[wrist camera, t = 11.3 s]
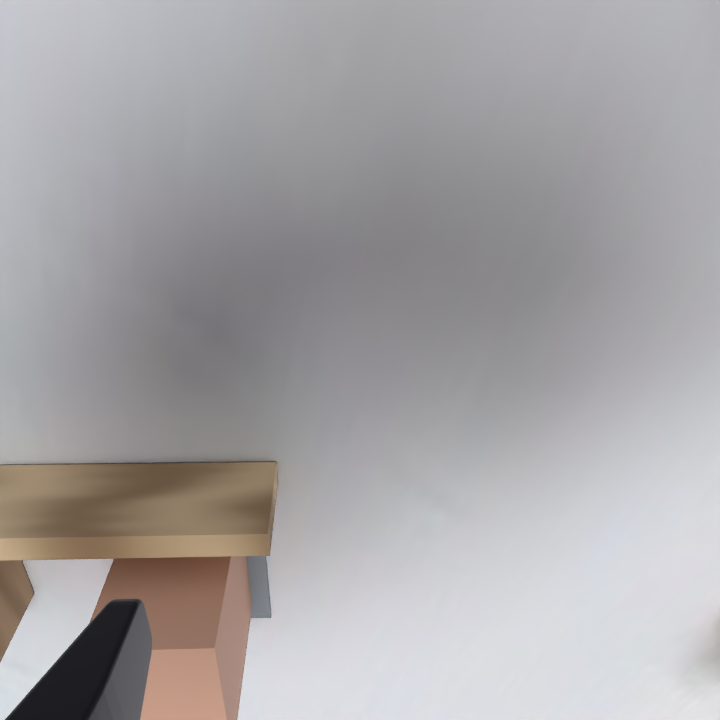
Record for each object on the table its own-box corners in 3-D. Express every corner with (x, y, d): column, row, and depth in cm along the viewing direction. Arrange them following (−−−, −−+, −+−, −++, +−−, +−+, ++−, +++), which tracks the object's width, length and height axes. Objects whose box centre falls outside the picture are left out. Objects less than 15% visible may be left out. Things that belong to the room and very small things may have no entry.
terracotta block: (252, 606, 27) (232, 753, 22) (158, 608, 27) (116, 757, 21) (240, 504, 24) (214, 648, 18) (134, 505, 23) (78, 651, 18)
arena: (276, 462, 23) (267, 533, 20) (287, 615, 27) (281, 692, 24) (-44, 465, 22) (-103, 540, 19) (21, 621, 27) (-18, 700, 24)
